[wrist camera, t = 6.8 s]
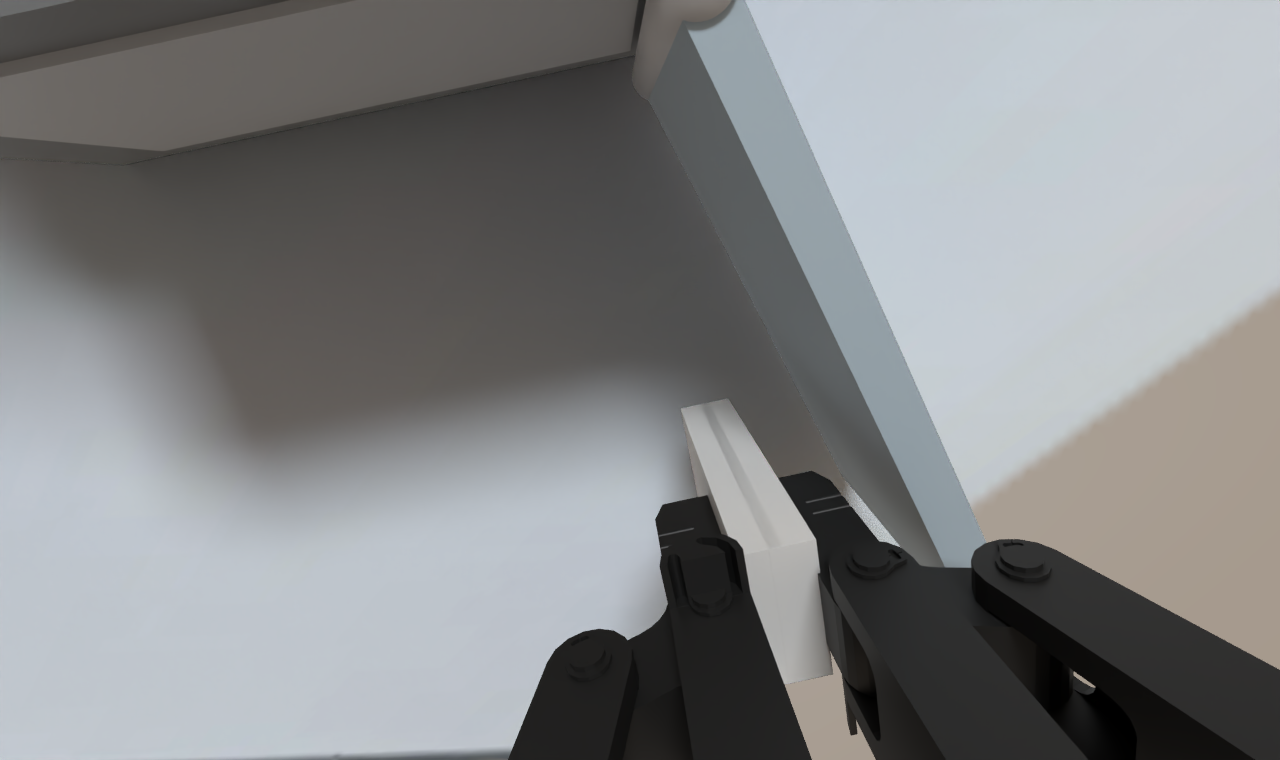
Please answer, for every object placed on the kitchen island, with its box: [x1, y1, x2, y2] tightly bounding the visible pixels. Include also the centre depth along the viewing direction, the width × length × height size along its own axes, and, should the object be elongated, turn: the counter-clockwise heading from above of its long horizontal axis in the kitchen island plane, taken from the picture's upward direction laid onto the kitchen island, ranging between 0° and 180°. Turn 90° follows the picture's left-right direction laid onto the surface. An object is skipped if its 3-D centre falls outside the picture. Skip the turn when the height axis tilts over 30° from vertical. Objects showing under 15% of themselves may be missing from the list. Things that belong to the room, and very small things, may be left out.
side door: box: [632, 0, 986, 568], centre depth 12 cm, size 13×1×7 cm, turn 30°
